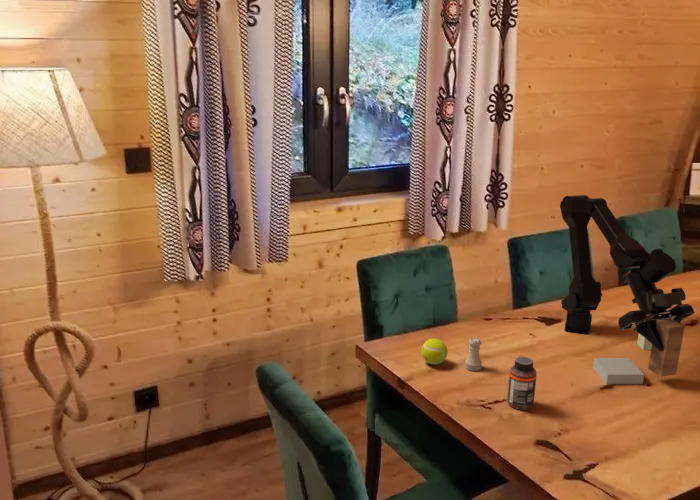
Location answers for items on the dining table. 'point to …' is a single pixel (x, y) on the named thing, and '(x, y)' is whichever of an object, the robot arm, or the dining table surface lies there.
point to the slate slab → (618, 371)
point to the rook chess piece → (473, 355)
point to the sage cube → (644, 343)
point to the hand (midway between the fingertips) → (670, 349)
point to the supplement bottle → (522, 384)
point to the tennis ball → (434, 351)
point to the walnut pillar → (667, 347)
